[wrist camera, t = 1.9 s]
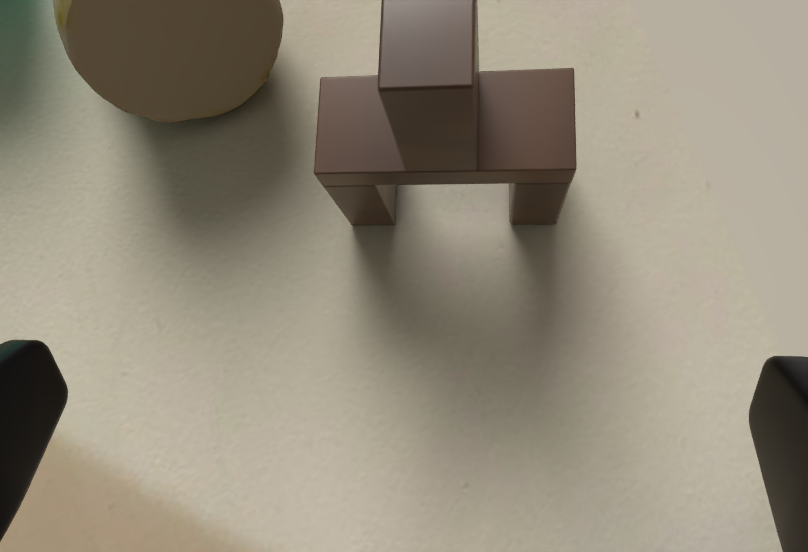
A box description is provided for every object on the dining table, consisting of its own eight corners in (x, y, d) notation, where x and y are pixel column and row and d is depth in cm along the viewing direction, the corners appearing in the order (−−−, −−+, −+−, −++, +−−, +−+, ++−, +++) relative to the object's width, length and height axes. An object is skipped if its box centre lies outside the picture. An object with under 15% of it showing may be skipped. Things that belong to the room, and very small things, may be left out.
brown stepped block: (555, 143, 22) (603, -51, 13) (556, 224, 21) (608, 82, 12) (355, 147, 23) (266, -30, 14) (351, 225, 22) (255, 94, 13)
